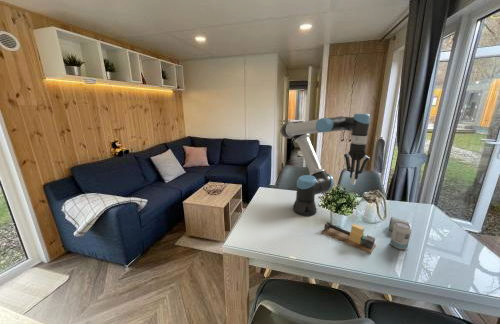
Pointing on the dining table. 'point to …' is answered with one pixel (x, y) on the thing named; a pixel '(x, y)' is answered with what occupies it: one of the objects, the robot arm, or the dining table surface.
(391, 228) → the ceramic mug
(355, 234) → the sleeve
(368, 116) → the robot arm
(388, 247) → the dining table surface
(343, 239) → the brown long block assembly
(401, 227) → the beverage can
